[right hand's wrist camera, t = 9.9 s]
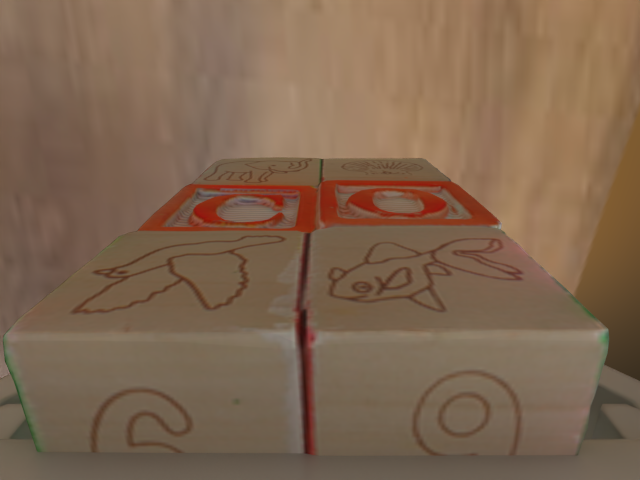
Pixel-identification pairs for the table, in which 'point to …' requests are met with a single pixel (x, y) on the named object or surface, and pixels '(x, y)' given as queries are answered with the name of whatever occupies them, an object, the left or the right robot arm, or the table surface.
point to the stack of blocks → (311, 325)
